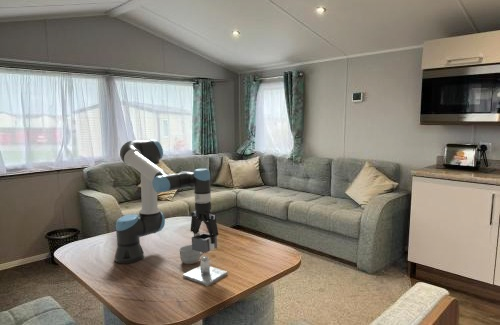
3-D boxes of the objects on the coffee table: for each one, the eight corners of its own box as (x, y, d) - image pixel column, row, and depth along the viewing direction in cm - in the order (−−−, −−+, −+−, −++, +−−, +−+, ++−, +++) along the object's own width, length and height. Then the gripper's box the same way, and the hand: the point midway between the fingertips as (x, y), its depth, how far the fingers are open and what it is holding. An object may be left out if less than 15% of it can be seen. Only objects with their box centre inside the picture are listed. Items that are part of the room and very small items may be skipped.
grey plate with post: (183, 277, 161) (182, 258, 160) (203, 266, 173) (202, 249, 172) (207, 286, 152) (207, 266, 151) (227, 274, 163) (226, 255, 162)
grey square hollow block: (192, 249, 160) (191, 237, 159) (204, 244, 166) (203, 232, 166) (205, 253, 155) (204, 240, 154) (217, 247, 162) (216, 235, 161)
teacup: (180, 267, 172) (180, 252, 171) (179, 259, 183) (178, 245, 182) (207, 264, 176) (207, 249, 175) (204, 256, 186) (204, 242, 185)
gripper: (181, 200, 161) (183, 246, 164) (214, 206, 149) (216, 255, 151) (192, 197, 167) (194, 241, 170) (225, 202, 155) (226, 250, 158)
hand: (204, 248), depth 161 cm, fingers closed on grey square hollow block, 8 cm apart
